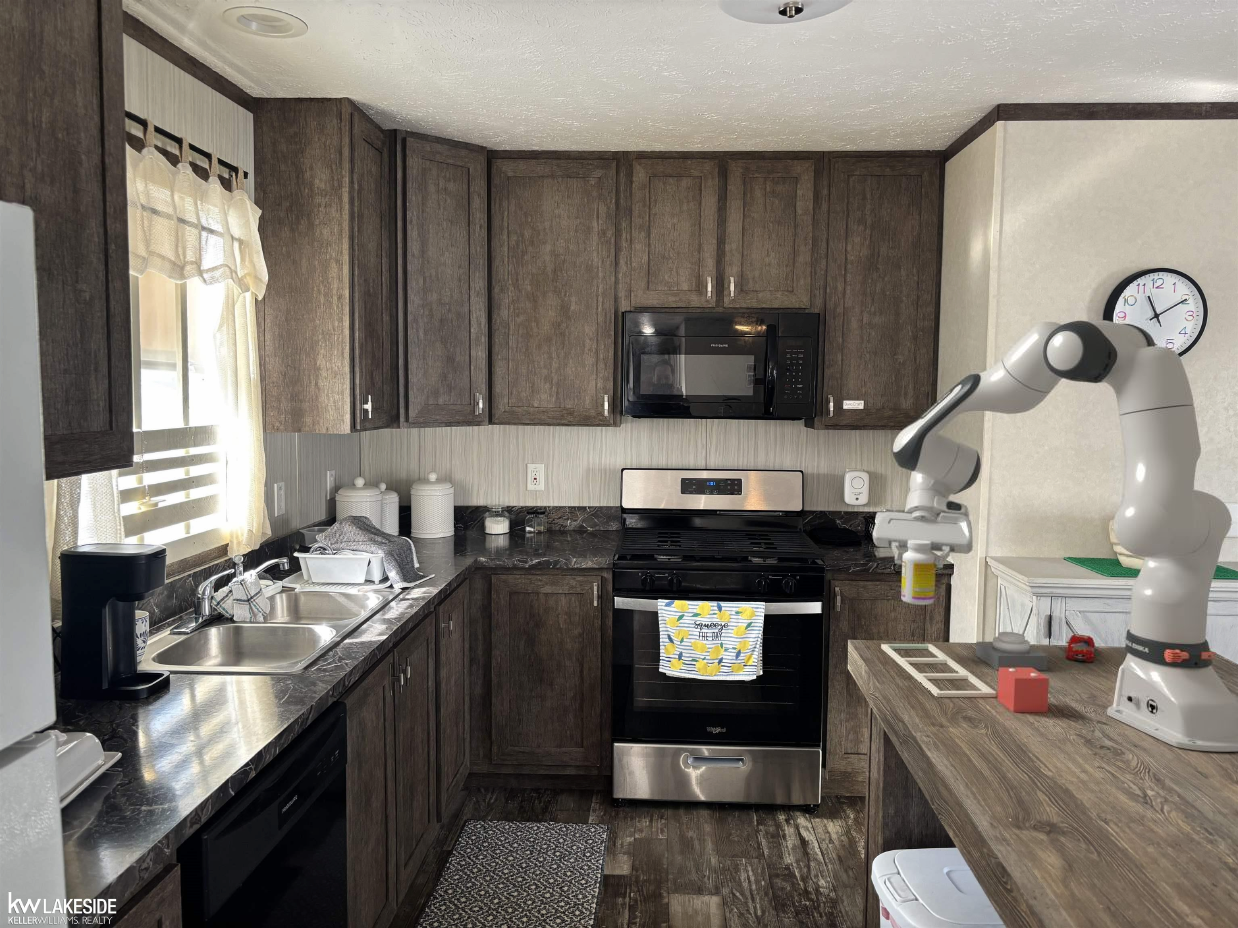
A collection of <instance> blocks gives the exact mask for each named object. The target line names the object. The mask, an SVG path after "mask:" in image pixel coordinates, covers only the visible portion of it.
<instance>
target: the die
mask: <svg viewBox="0 0 1238 928" xmlns="http://www.w3.org/2000/svg"><path fill="white" fill-rule="evenodd" d="M997 676H998V677H997V678H998V681H997V701H998V702H999V703H1001V704H1002V705H1004V706H1005V707H1006V708H1007V709H1008V710H1010V711H1011V712H1013V713H1048V707H1049V706H1048V705H1049V703H1048V702H1049V686H1050V685H1049V684H1050V682H1049V681H1050V678H1049V677H1047V676H1046V675H1044V674H1042V673H1041V672H1040V671H1039V670H1035V669H1033V668H999V670H998V675H997Z"/></svg>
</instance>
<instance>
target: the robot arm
mask: <svg viewBox="0 0 1238 928" xmlns="http://www.w3.org/2000/svg"><path fill="white" fill-rule="evenodd" d="M1063 379H1065V380H1068V381H1071V382H1076V383H1077V382H1079V383H1080V382H1081V383H1091V384H1100V383H1101V384H1102V383H1103V384H1108V386H1110V387H1111V388H1112V390H1113V391H1114V394H1115V397H1116V402H1117V408H1118V416H1119V423H1120V430H1121V438H1122V445H1123V453H1124V473H1123V475H1124V476H1123V485H1122V486H1123V487H1122V492H1121V493H1122V494H1121V495H1122V496H1121V502H1120V506H1119V508H1118V510H1117V512H1116V514H1115V516H1114V518H1113V523H1112V524H1113V525H1112V527H1113V528H1112V529H1113V533H1114V537H1115V539H1116V541H1117V542H1118V544H1119V545H1120V546H1121V548H1122V549H1124V550H1125V551H1127V552H1128V553H1130V554H1132V555H1134V556H1138V557H1141V558H1144V560H1143V563H1142V566H1141V568H1140V572H1139V573H1138V575H1137V577H1136V579H1135V580H1134V582H1133V584H1132V588H1131V596H1130V597H1131V598H1130V611H1129V612H1130V614H1129V628H1128V629H1127V630H1126V633H1125V634H1126V636H1125V637H1124V639H1125V640H1124V643H1125V648H1124V649H1125V651H1126V653H1127V654H1126V657H1125V659H1124V660H1123V662H1122V664H1121V665H1120V667H1119V669H1118V673H1117V679H1116V685H1115V692H1114V697H1113V698H1114V699H1113V704H1112V705H1110V706H1108V707H1107V708H1106V709H1107V710H1106V715H1108V716H1109V717H1111V718H1113V719H1116V720H1118V721H1120V722H1122V723H1124V724H1126V725H1128V726H1131V727H1133V728H1135V729H1136V730H1139V731H1141V732H1142V733H1145V734H1147V735H1149V736H1152V737H1154V738H1156V739H1157V740H1160V741H1162V742H1165V743H1166V744H1169V745H1172V746H1173V747H1175V748H1180V749H1187V750H1192V751H1193V750H1194V751H1202V752H1206V751H1207V752H1227V753H1228V752H1238V696H1237V694H1234V693H1232V692H1231V691H1230V690H1229V689H1228V687H1227V686H1226V685H1225V684H1224V682H1223V681H1222V679H1221V678H1220V676H1219V675H1218V674H1217V672H1215V670H1214V668H1213V666H1212V665H1213V662H1214V661H1213V660H1216V659H1217V657H1214V655H1217V652H1216V651H1212V650H1211V647H1210V646H1209V645H1210V644H1209V641H1208V639H1206V635H1207V621H1208V606H1209V597H1210V590H1211V586H1212V584H1213V580H1214V576H1215V572H1216V569H1217V565H1218V562H1219V558H1220V554H1221V551H1222V547H1223V543H1224V540H1225V539H1226V537H1227V535H1228V534H1229V532H1230V531H1231V530H1230V529H1231V527H1232V515H1231V512H1230V509H1229V508H1228V506H1227V505H1226V504H1225V502H1223V501H1222V499H1220V498H1219V497H1216V496H1215V495H1212V494H1211V493H1208V492H1206V491H1202V490H1198V489H1194V488H1195V478H1196V477H1195V476H1196V470H1197V469H1196V468H1197V463H1198V461H1199V459H1200V456H1201V453H1202V448H1201V441H1200V434H1199V428H1198V422H1197V421H1198V420H1197V416H1196V410H1195V403H1194V398H1193V392H1192V389H1191V386H1190V385H1191V384H1190V382H1189V378H1188V374H1187V373H1186V370H1185V366H1184V364H1183V362H1182V359H1181V357H1180V355H1179V354H1178V353H1177V352H1176V351H1175V350H1173V349H1170V348H1167V347H1165V346H1157V345H1156V342H1155V341H1154V338H1153V336H1152V335H1151V334H1150V333H1149V332H1148V331H1147V330H1145V329H1144V328H1142V327H1139V326H1137V325H1134V324H1131V323H1121V322H1114V321H1110V320H1103V319H1102V320H1098V319H1097V320H1074V321H1070V322H1067V323H1066V322H1065V323H1063V324H1061V323H1059V322H1055V321H1043V322H1040V323H1038V324H1036V325H1035V326H1033V327H1031V329H1030V330H1028V331H1027V332H1026V333H1025V334H1024V335H1023V336H1021V338H1020V339H1019V340H1018V341H1016V343H1015V344H1014V345H1012V347H1011V348H1010V349H1009V350H1008V351H1007V352H1006V354H1005V355H1004V356H1003V357H1002V359H1001V360H999V361H998V362H997V363H996V364H995V365H994V366H992V367H990V368H988V369H986V370H985V371H982V372H979V373H972V374H968V375H967V376H965V377H964V378H962V380H960V381H958V382H957V383H955V384H954V385H953V387H951V388H950V389H949V390H948V391H947V392H946V393H945V394H944V395H942V397H940V398H939V399H938V400H937V401H936V402H935V403H934V404H933V405H931V407H929V408H928V409H927V410H926V411H925V412H924V413H923V414H921V416H919V418H917V419H916V420H914V421H913V422H911V423H909V424H908V425H906V426H905V427H904V428H903V429H902V430H901V431H900V432H899V433H898V435H897V436H896V437H895V440H894V442H893V444H892V448H891V451H892V455H893V458H894V460H895V462H896V464H897V466H898V467H899V468H902V469H905V470H907V471H910V472H911V474H910V478H909V482H908V483H909V485H908V486H909V492H908V494H907V496H906V502H905V507H904V509H889V508H888V509H887V508H885V509H883V510H880V511H879V512H876V515H875V519H874V523H875V525H874V529H873V531H872V539H873V543H874V544H875V546H876V547H879V548H891V550H892V551H891V552H892V553H893V555H894V564H900V565H902V557H903V555H904V553H903V552H900V549H901V550H902V549H903V550H904V549H905V550H908V549H909V548H908V546H907V545H908V540H921V541H930V542H931V548H930V552H938V553H939V552H942V553H941V554H940V555H934V556H935V568H943V567H944V566H943V565H944V562H945V561H946V560H947V559H949V557H950V556H951V554H953V553H954V554H965V555H969V554H970V553H971V552H972V551H973V546H974V545H973V543H974V542H973V541H974V540H973V530H972V529H973V527H972V522H971V519H970V514H969V512H970V511H969V509H968V508H969V507H968V505H966V504H963V503H961V502H957V501H954V500H951V499H950V496H951V495H957V494H960V493H961V492H965V491H966V490H969V489H970V488H971V487H972V486H973V485H974V484H975V483H976V482H977V480H978V478H979V475H980V473H981V466H982V463H981V461H982V460H981V457H980V453H979V452H978V450H977V449H975V448H973V447H971V446H969V445H968V444H965V443H964V442H961V441H958V440H956V439H952V438H950V437H948V436H946V435H944V434H942V433H940V432H941V431H942V430H943V429H944V428H945V427H946V426H948V425H949V424H950V423H951V422H953V420H954V419H956V418H958V417H959V416H960V415H962V414H964V413H969V412H990V413H991V412H992V413H1000V414H1005V415H1016V414H1022V413H1026V412H1029V411H1031V410H1033V409H1035V408H1036V407H1038V406H1039V405H1040V404H1041V403H1042V402H1043V401H1044V400H1045V399H1047V397H1048V396H1049V394H1050V393H1051V392H1052V391H1053V390H1054V389H1055V387H1056V386H1057V385H1058V384H1059V383H1060V382H1061V381H1062V380H1063Z"/></svg>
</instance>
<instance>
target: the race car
mask: <svg viewBox="0 0 1238 928" xmlns="http://www.w3.org/2000/svg"><path fill="white" fill-rule="evenodd" d="M1066 643H1067V648H1066V657H1065V658H1066V659H1068V660H1073V661H1078V662H1090V663H1094V660H1095V648H1096V646H1097V645H1096V644H1095V640H1094V638H1093V637H1091V636H1090V635H1084V634H1076V633H1075V634H1071V636H1070V637H1069V639H1068V641H1066Z"/></svg>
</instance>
